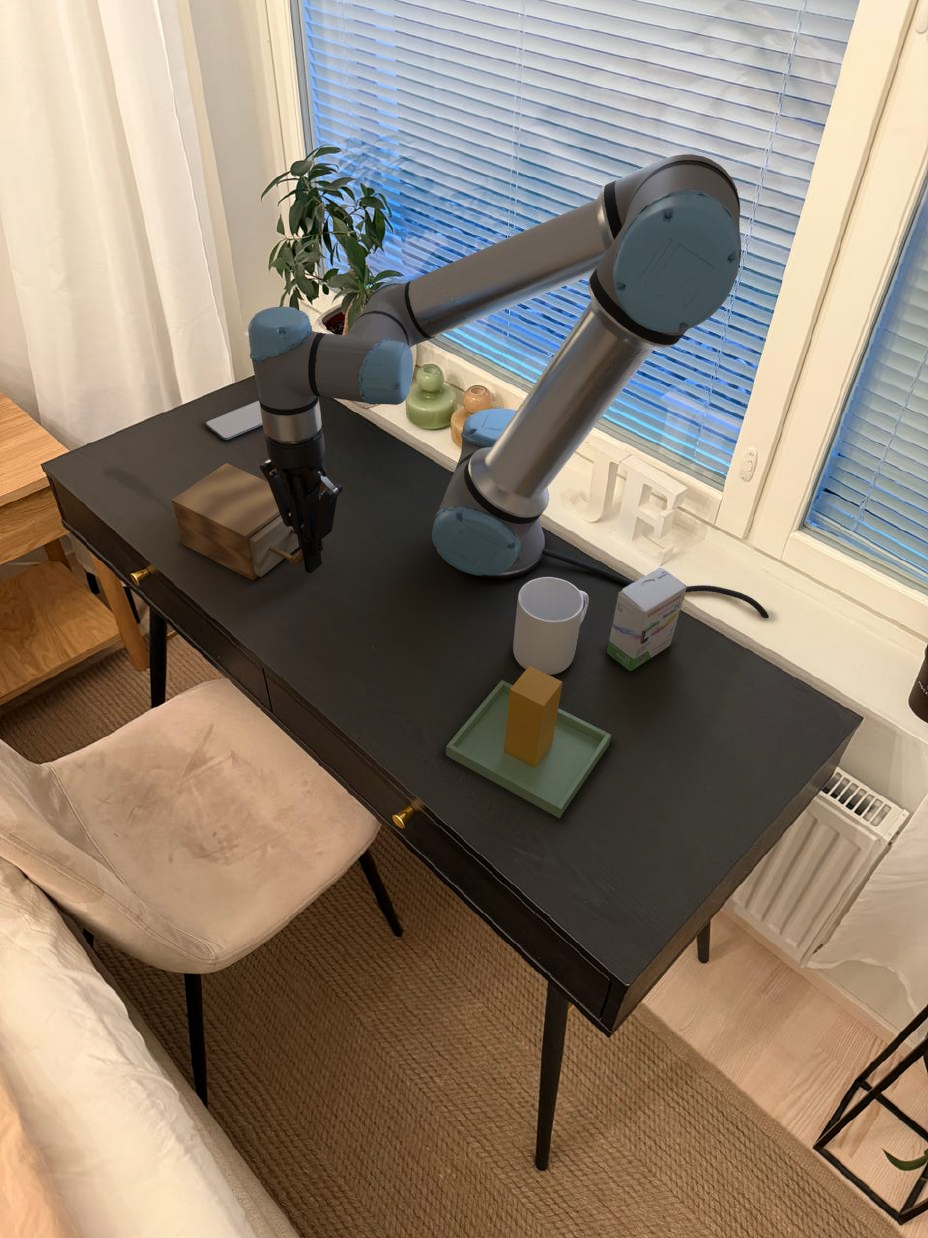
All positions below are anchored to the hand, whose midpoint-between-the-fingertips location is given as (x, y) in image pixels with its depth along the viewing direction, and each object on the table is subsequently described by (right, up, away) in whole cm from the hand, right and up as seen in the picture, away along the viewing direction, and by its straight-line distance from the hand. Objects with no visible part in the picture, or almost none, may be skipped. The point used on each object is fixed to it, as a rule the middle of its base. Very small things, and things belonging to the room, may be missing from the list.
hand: (313, 567), depth 132 cm
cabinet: (-12, +4, +7) cm, 15 cm away
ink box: (+47, -12, -7) cm, 49 cm away
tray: (+30, -24, -20) cm, 44 cm away
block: (+30, -24, -20) cm, 44 cm away
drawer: (-8, +3, +5) cm, 10 cm away
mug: (+35, -12, -7) cm, 37 cm away
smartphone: (-17, +29, +32) cm, 46 cm away
